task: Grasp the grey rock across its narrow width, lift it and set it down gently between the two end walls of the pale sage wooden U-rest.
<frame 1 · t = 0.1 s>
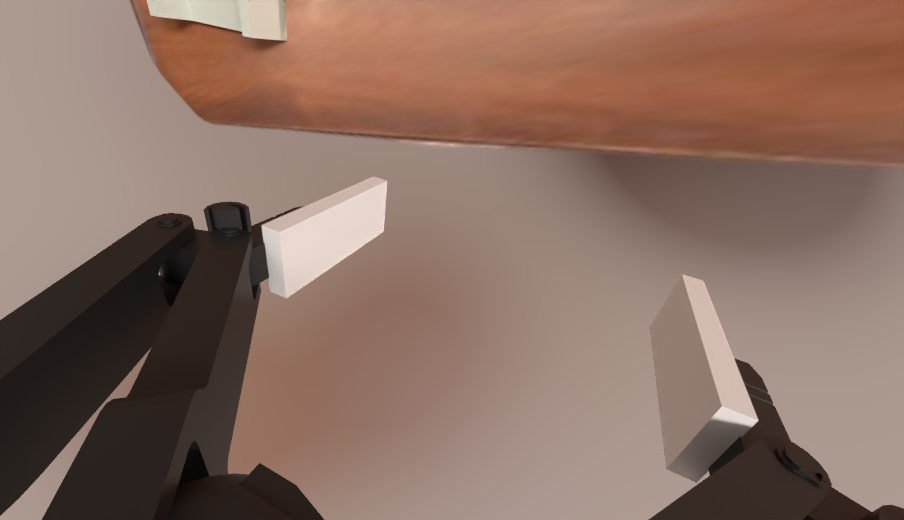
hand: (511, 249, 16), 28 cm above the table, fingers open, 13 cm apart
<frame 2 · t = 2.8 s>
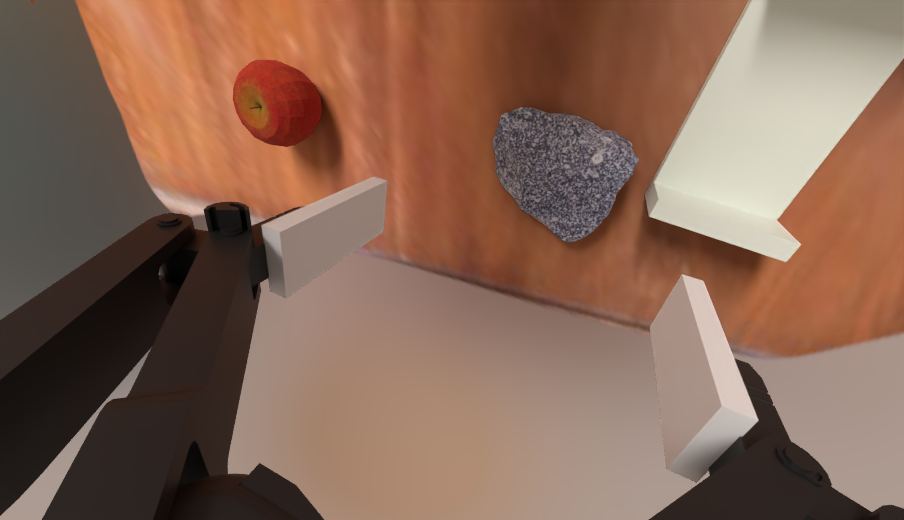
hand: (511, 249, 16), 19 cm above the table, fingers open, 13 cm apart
u rest: (770, 103, 25), on the table
rock: (553, 168, 33), on the table
apple: (308, 100, 40), on the table
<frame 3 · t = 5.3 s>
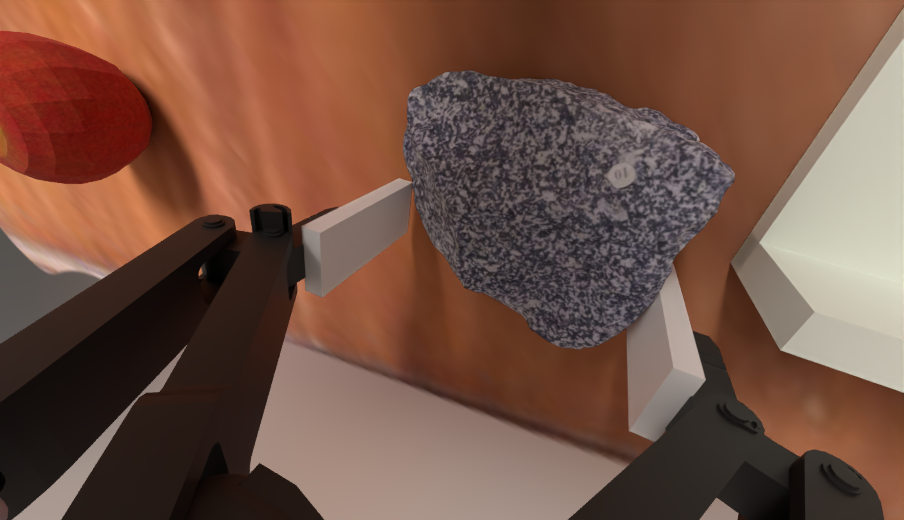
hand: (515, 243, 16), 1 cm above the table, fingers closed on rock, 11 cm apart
rock: (528, 195, 17), on the table, touching gripper
apple: (137, 105, 24), on the table
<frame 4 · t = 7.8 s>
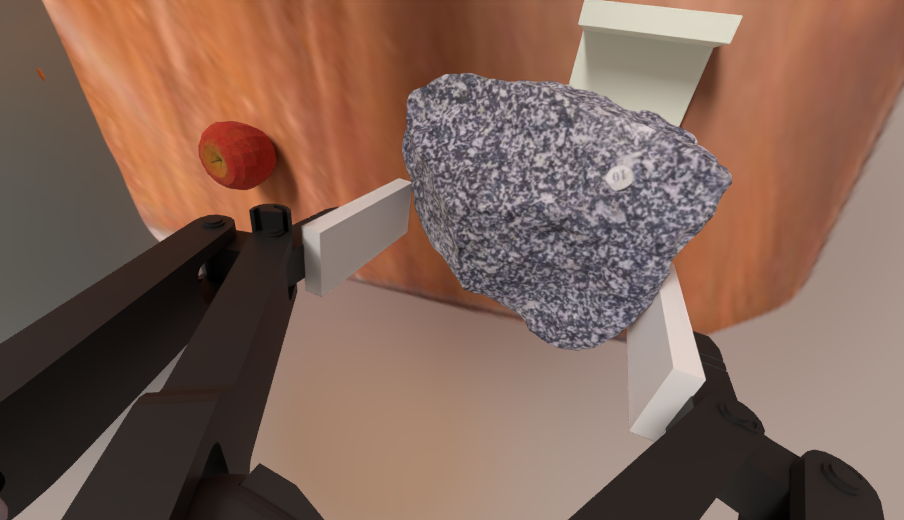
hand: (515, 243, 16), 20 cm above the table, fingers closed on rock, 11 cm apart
u rest: (611, 135, 31), on the table
rock: (527, 196, 17), point 19 cm above the table, touching gripper
apple: (266, 149, 47), on the table
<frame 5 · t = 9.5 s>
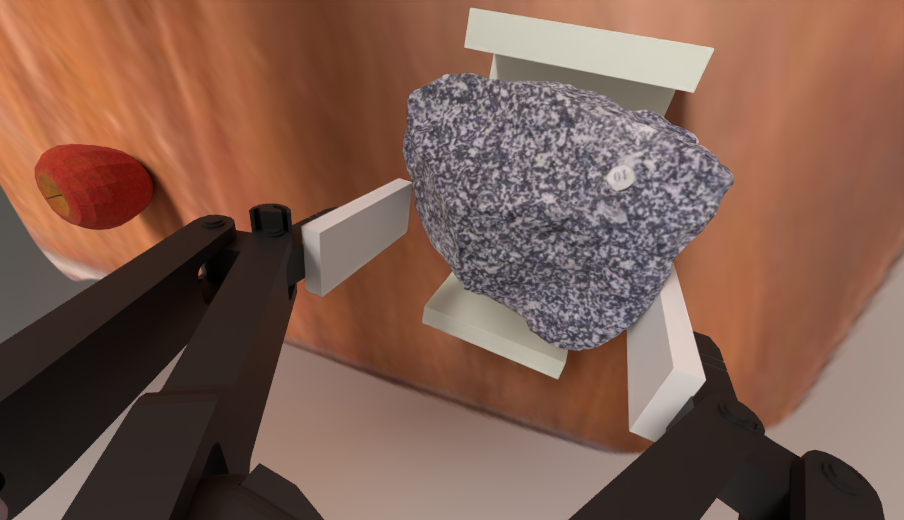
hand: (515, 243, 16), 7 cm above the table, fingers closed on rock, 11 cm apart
u rest: (541, 195, 22), on the table
rock: (528, 196, 17), point 6 cm above the table, touching gripper
apple: (143, 175, 38), on the table
when the fingers open (4 cm above the table, at t = 10.6 s): rock drops 2 cm, resting on u rest.
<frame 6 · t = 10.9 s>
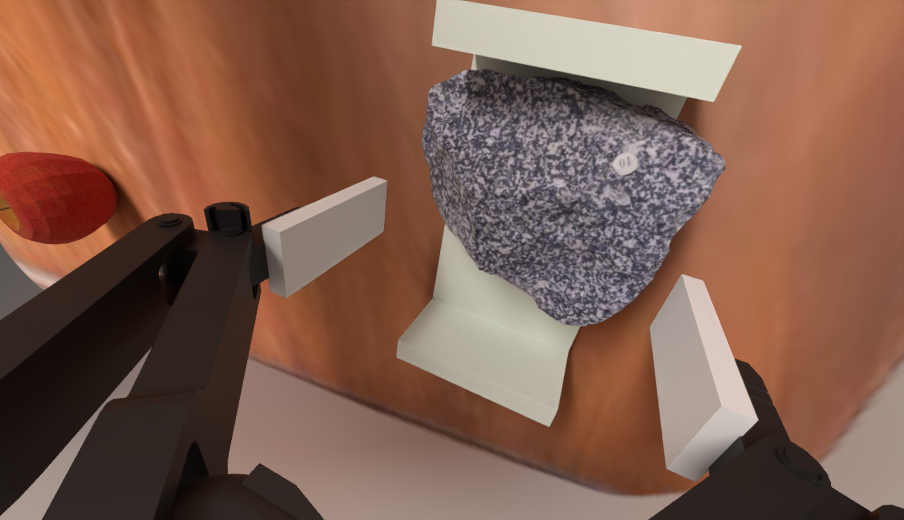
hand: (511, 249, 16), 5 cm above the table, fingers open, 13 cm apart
u rest: (531, 215, 20), on the table
rock: (537, 185, 18), point 1 cm above the table, touching u rest
apple: (108, 184, 35), on the table
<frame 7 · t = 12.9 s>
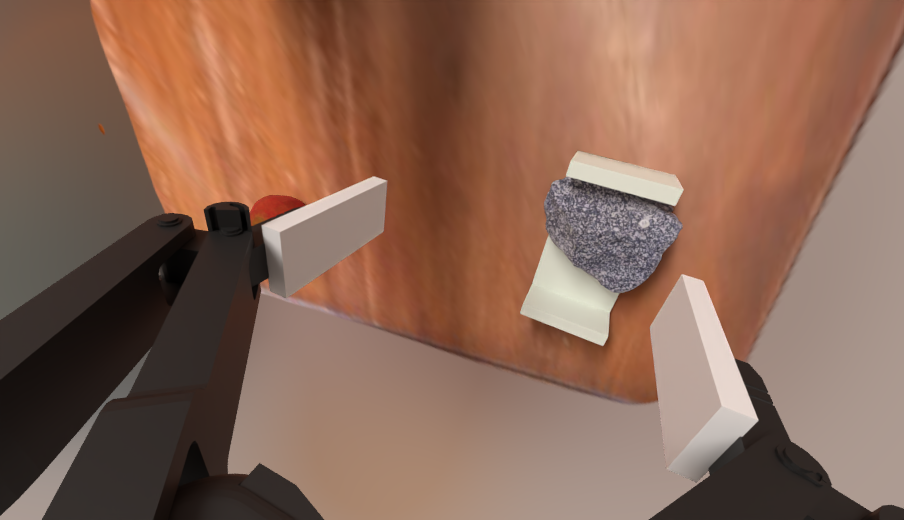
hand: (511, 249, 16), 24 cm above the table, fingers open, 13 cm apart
u rest: (592, 240, 38), on the table
rock: (598, 226, 37), point 1 cm above the table, touching u rest
apple: (303, 213, 54), on the table
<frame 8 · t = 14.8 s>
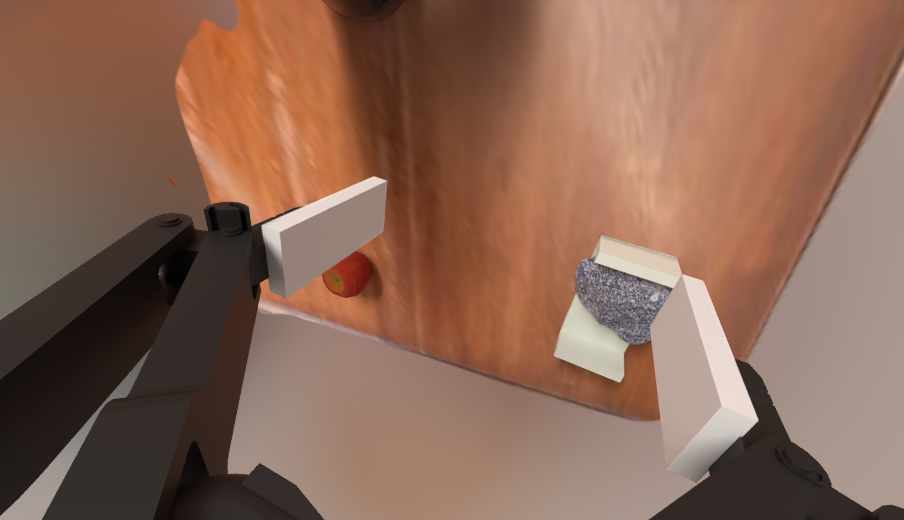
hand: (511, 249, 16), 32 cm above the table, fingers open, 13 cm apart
u rest: (611, 299, 49), on the table
rock: (617, 290, 47), point 1 cm above the table, touching u rest
apple: (361, 262, 64), on the table
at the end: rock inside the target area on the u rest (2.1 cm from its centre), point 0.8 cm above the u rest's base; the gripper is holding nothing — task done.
